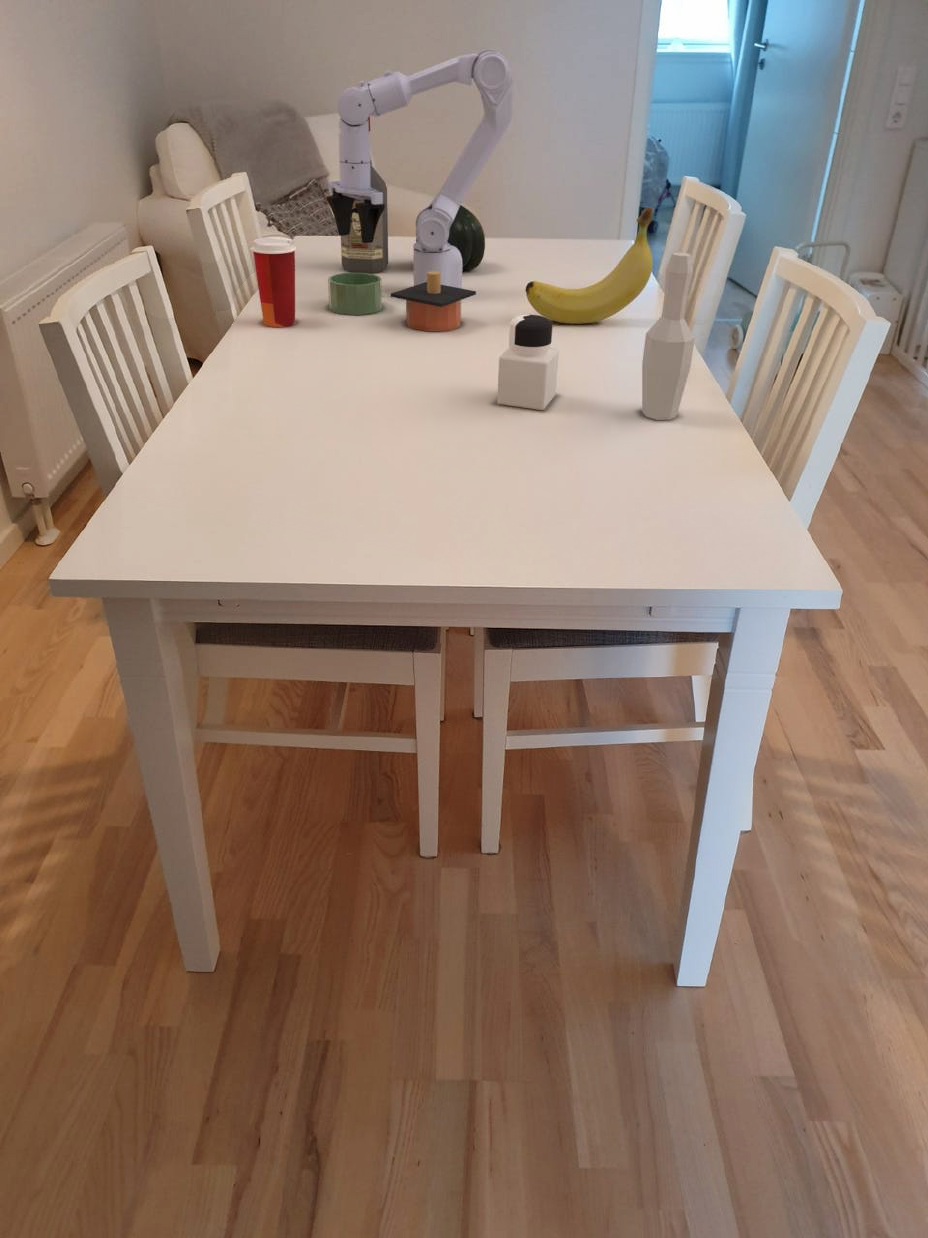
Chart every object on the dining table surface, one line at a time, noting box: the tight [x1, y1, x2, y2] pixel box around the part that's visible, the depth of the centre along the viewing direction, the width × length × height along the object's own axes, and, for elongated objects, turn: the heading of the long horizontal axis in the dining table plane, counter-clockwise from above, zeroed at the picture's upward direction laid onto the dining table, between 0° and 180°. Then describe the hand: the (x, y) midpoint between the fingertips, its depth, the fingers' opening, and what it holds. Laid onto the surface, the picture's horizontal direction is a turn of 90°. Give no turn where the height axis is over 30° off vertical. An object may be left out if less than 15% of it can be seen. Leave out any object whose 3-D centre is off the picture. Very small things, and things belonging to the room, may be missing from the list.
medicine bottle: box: [496, 314, 560, 411], centre depth 138 cm, size 7×7×12 cm
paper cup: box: [249, 236, 297, 328], centre depth 169 cm, size 8×8×14 cm
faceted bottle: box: [641, 251, 696, 421], centre depth 132 cm, size 6×6×22 cm
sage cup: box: [327, 272, 383, 316], centre depth 181 cm, size 10×10×5 cm
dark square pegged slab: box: [390, 271, 477, 307], centre depth 170 cm, size 11×11×4 cm
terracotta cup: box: [405, 300, 462, 332], centre depth 173 cm, size 10×10×5 cm
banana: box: [525, 207, 655, 325], centre depth 172 cm, size 23×6×20 cm, turn 94°
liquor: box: [340, 115, 389, 274], centre depth 201 cm, size 9×9×30 cm
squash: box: [415, 204, 486, 272], centre depth 208 cm, size 14×15×15 cm
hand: (355, 238), depth 185 cm, fingers open, 7 cm apart
